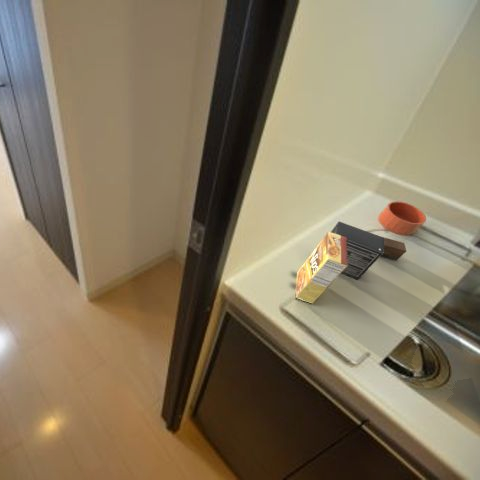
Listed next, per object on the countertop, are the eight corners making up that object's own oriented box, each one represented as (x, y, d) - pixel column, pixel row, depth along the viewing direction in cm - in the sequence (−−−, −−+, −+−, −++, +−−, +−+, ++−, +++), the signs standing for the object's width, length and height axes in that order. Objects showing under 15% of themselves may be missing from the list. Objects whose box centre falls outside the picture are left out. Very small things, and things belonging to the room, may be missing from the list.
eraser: (394, 252, 88) (404, 242, 85) (396, 260, 86) (406, 251, 83) (370, 245, 90) (379, 235, 87) (371, 253, 88) (380, 244, 85)
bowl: (411, 217, 98) (422, 206, 95) (417, 239, 92) (429, 228, 89) (376, 209, 100) (385, 197, 97) (380, 229, 94) (390, 218, 91)
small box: (361, 263, 85) (386, 236, 77) (358, 280, 81) (384, 254, 74) (318, 246, 89) (339, 219, 81) (314, 262, 85) (335, 235, 77)
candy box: (296, 272, 83) (326, 230, 71) (314, 277, 82) (347, 236, 70) (293, 299, 77) (326, 258, 66) (312, 305, 76) (349, 265, 65)
